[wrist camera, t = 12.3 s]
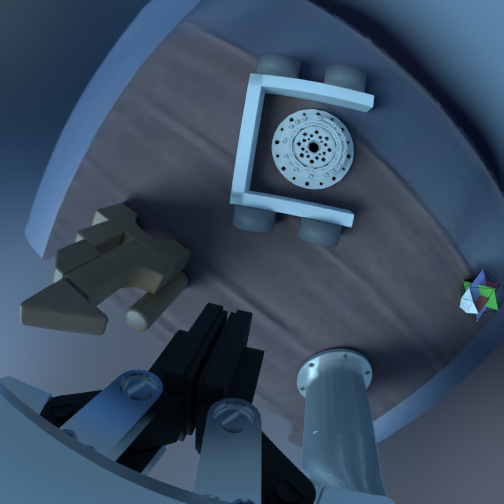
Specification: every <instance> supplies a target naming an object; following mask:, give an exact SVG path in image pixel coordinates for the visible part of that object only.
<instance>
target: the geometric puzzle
mask: <svg viewBox="0 0 504 504" xmlns="http://www.w3.org/2000/svg"><path fill="white" fill-rule="evenodd" d="M483 270H484V269H482V271H481V270H480V271H481V272H480V273H479V275H478V276H477V277H476V279H475V280H474V281H473V283H469V282H465V281H463V283H464V287H465V290H466V292H465V294H464V295H463V296H462V298H461V303H460V307H459V308H461V309H463V310H464V311H465V312H466V313H474V315H475V314H476V316H475V317H477V318H476V319H477V321H478V319H479V318H480V316H481V315H482V314H483V312H484V311H485V309H486V308H487V307H490V308H493V309H496V310H495V311H497V310H498V306H497V300H496V295H495V293H496V292H495V290H496V289H498V288H497V287H499V285H500V284H501V283H498V282H493V281H490V280H485V276H484V272H485V271H484V272H483ZM475 274H476V273H475ZM485 274H486V273H485ZM488 274H489V273H488ZM489 275H490V274H489ZM470 277H471V276H470ZM488 279H489V278H488ZM494 279H495V278H494ZM465 280H466V279H465ZM466 281H471V280H466ZM462 286H463V285H462ZM496 291H497V290H496ZM499 294H500V292H499ZM461 295H462V294H461ZM498 305H499V304H498ZM490 312H492V311H490ZM484 313H486V312H484ZM469 315H470V314H469ZM473 318H474V317H473Z"/></svg>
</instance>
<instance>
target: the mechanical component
mask: <svg viewBox="0 0 504 504" xmlns="http://www.w3.org/2000/svg"><path fill="white" fill-rule="evenodd" d="M304 114H305V115H306V116H303V115H304ZM316 114H320V115H318V116H317V115H316ZM290 119H293V120H294V121H292V122H290ZM331 120H332V121H331ZM281 129H284V130H283V131H281ZM341 129H343V131H342V130H341ZM316 131H317V132H316ZM310 135H312V136H313V137H310ZM319 137H321V140H320V139H319ZM294 138H295V139H294ZM308 139H309V140H308ZM303 140H305V141H306V142H303ZM276 141H279V144H276ZM293 141H294V142H293ZM312 141H313V142H315V143H314V144H316V145H317V144H318V145H319V146H318V145H317V146H318V147H319V150H320V151H319V150H318V151H317V152H311V151H310V150H309V145H310V144H311V143H313V142H312ZM317 142H318V143H317ZM320 142H322V143H320ZM347 142H348V143H349V144H347ZM292 143H293V146H292ZM299 143H301V145H300V146H299ZM324 144H326V147H325V146H324ZM301 148H304V149H305V150H304V151H302V150H301ZM306 151H307V152H308V153H306ZM323 152H325V155H323ZM301 153H302V156H303V154H304V157H301V156H300V154H301ZM314 153H316V154H314ZM272 154H273V158H274V161H275V164H276V166H277V168H278V169H279V171H280V172H281V173H282V174H283V176H284V177H285V178H286V179H288V180H289V181H291V182H292V183H294V184H295V185H297V186H300V187H303V188H308V189H322V188H326V187H329V186H331V185H333V184H335V183H337V182H338V181H340V180H341V179H342V178H343V177H344V175H345V174H346V173H347V172H348V170H349V168H350V166H351V164H352V161H353V154H354V151H353V141H352V139H351V136H350V133H349V131H348V130H347V128H346V127H345V125H344V124H343V123H342V122H341V121H340V120H339V119H338V118H336V117H334V116H333V115H331V114H329V113H327V112H324V111H319V110H315V109H310V110H301V111H298V112H296V113H294V114H292V115H289V116H288V117H287V118H286V119H285V120H284V121H283V122H282V123H281V124H280V125H279V126H278V128H277V130H276V132H275V134H274V137H273V141H272ZM318 154H320V155H318ZM277 155H279V157H278V158H277ZM294 155H295V156H294ZM307 155H310V158H307ZM346 155H349V158H347V156H346ZM295 157H296V158H295ZM315 157H318V160H316V159H315ZM321 158H324V159H323V160H322V161H321ZM298 160H299V161H300V162H299V161H298ZM310 160H313V161H314V162H313V163H310ZM302 164H303V165H302ZM327 164H328V165H327ZM325 165H327V166H325ZM282 167H285V168H286V169H285V171H283V170H282ZM309 167H310V168H309ZM319 167H321V168H319ZM314 168H317V169H314ZM342 168H344V171H343V170H342ZM293 177H296V178H295V180H293ZM332 177H335V180H332ZM305 182H309V185H308V186H307V185H305ZM320 182H322V183H323V184H322V185H320Z"/></svg>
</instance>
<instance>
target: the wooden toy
mask: <svg viewBox="0 0 504 504" xmlns="http://www.w3.org/2000/svg"><path fill="white" fill-rule="evenodd" d="M137 217H138V214H137V213H136V212H134V211H133V210H131V209H130V208H129V207H127V206H126V205H124V204H123V203H120V204H116V205H112V206H109V207H105V208H102V209H98V210H97V211H96V213H95V216H94V219H93V222H92V225H91V226H90V227H88V228H85V229H82V230H79V231H78V232H77V235H76V238H75V242H74V243H73V244H71V245H68V246H66V247H64V248H62V249H59V250H58V251H57V252H56V256H55V262H54V268H53V273H52V285H50V286H48V287H46V288H45V289H43V290H42V291H40V292H38V293H37V294H35V295H33V296H31V297H30V298H28V299H27V300H25V301H23V302H22V303H21V305H20V323H21V324H23V325H27V326H33V327H39V328H46V329H52V330H59V331H66V332H75V333H82V334H91V335H102V334H104V331H105V329H106V325H107V323H108V317H107V316H106V315H105V314H104V313H103V312H102V311H100V310H99V309H98V308H97V307H96V306H97V305H98V304H100V303H101V302H102V301H104V300H105V299H106V298H108V297H109V296H110V295H112V294H113V293H114V292H116V291H117V290H118V289H120V288H126V287H135V288H139V289H142V290H145V291H148V292H147V293H146V294H145V295H144V296H142V297H141V298H140V299H139V300H138V301H137V302H136V303H135V304H133V305H132V306H131V307H130V308H129V309H128V310H127V312H126V321H127V323H128V324H129V326H130V327H131V328H132V329H134V330H135V331H138V332H144V331H146V330H147V329H148V328H149V327H150V326H151V325H152V324H153V323H154V322H155V321H156V320H157V318H158V317H159V316H160V315H161V314H162V313H163V312H164V311H165V310H166V309H167V307H168V306H169V305H170V304H171V303H172V302H173V301H174V300H175V299H176V298H177V297H178V295H179V294H180V293H181V292H182V291H183V290H184V289H185V288H186V287H187V285H188V278H187V276H186V274H185V273H184V272H182V270H183V269H184V267H185V266H186V264H187V262H188V260H189V258H190V257H191V255H192V252H191V251H190V250H188V249H187V248H185V247H184V246H183V245H181V244H180V243H178V242H177V241H175V240H174V239H170V240H163V239H159V238H156V237H153V236H151V235H149V234H147V233H146V232H144V231H143V230H142V229H141V228H140V227H139V226H138V225H137V223H136V220H137Z"/></svg>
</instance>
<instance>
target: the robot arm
mask: <svg viewBox="0 0 504 504" xmlns="http://www.w3.org/2000/svg"><path fill="white" fill-rule="evenodd" d="M251 320H252V313H251V312H246V311H242V310H237V312H236V313H233V312H231V314H230V316H229V318H228V320H227V311H225V310H223V306H220V305H216V304H212V303H208V304H207V305H206V306H205V308H204V309H203V311H202V312H201V314H200V315H199V317H198V318H197V320H196V321H195V323H194V324H193V326H192V327H191V329H190V330H189V331H188V332H186V331H183V330H179V331H178V332H177V333H176V334H175V335H174V337H173V338H172V340H171V341H170V342H169V344H168V345H167V347H166V348H165V349H164V351H163V352H162V353H161V355H160V356H159V358H158V359H157V360H156V362H155V363H154V364H153V366H152V367H151V368H150V370H149V371H146V370H139V369H138V370H130V371H126V372H124V373H123V374H121V375H120V376H118V377H117V378H116V379H115V380H114V381H113V382H112V383H111V384H109V385H108V386H107V387H106V388H105V389H104V390H98V391H92V392H85V393H78V394H70V395H61V396H57V397H52V395H51V394H50V393H48V392H45V391H43V390H41V389H38V388H36V387H33V386H31V385H29V384H26V383H24V382H22V381H20V380H18V379H16V378H13V377H3V378H1V379H0V504H394V502H393V501H392V500H390V499H389V498H387V496H386V492H385V489H384V486H383V482H382V477H381V472H380V466H379V460H378V454H377V447H376V441H375V434H374V428H373V422H372V417H371V411H370V406H369V400H368V395H367V390H366V389H367V388H368V386H369V385H370V383H371V380H372V368H371V365H370V363H369V361H368V359H367V358H366V357H365V356H364V355H362V354H361V353H359V352H357V351H354V350H350V349H343V348H337V349H329V350H325V351H322V352H320V353H317V354H315V355H313V356H312V357H310V358H309V359H308V360H307V361H305V362H304V363H303V365H302V366H301V367H300V369H299V371H298V375H297V387H298V390H299V392H300V393H301V394H302V396H303V397H305V398H306V400H305V421H304V437H303V451H302V468H303V471H304V474H305V475H304V474H303V473H302V472H301V471H300V470H299V469H298V468H297V467H296V466H295V465H294V464H293V463H292V462H291V461H290V460H289V459H288V458H287V457H286V456H285V455H284V454H283V453H282V452H281V451H280V450H279V449H278V448H277V447H276V446H275V445H274V444H273V443H272V441H271V440H269V438H268V437H267V436H266V435H265V434H264V433H263V432H262V429H261V427H262V423H261V422H262V421H261V415H260V413H259V411H258V409H257V408H256V407H255V406H254V405H252V401H253V397H254V393H255V389H256V385H257V381H258V377H259V373H260V369H261V364H262V360H263V356H264V351H262V350H258V349H253V348H249V347H247V341H248V336H249V331H250V325H251ZM226 321H227V322H226ZM195 427H196V435H195V436H196V440H195V448H196V450H197V451H198V453H199V454H200V459H199V464H198V470H197V475H196V481H195V487H194V493H193V492H190V491H187V490H184V489H181V488H178V487H174V486H172V485H169V484H166V483H164V482H161V481H158V480H155V479H153V478H151V477H148V476H147V475H148V473H149V472H150V471H151V469H152V468H153V467H154V466H155V464H156V463H157V462H158V460H159V459H160V458H161V456H162V455H163V454H164V452H165V451H166V449H167V447H168V444H171V443H175V442H177V440H180V441H184V439H185V436H186V434H188V435H192V434H193V432H194V429H195Z"/></svg>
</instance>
